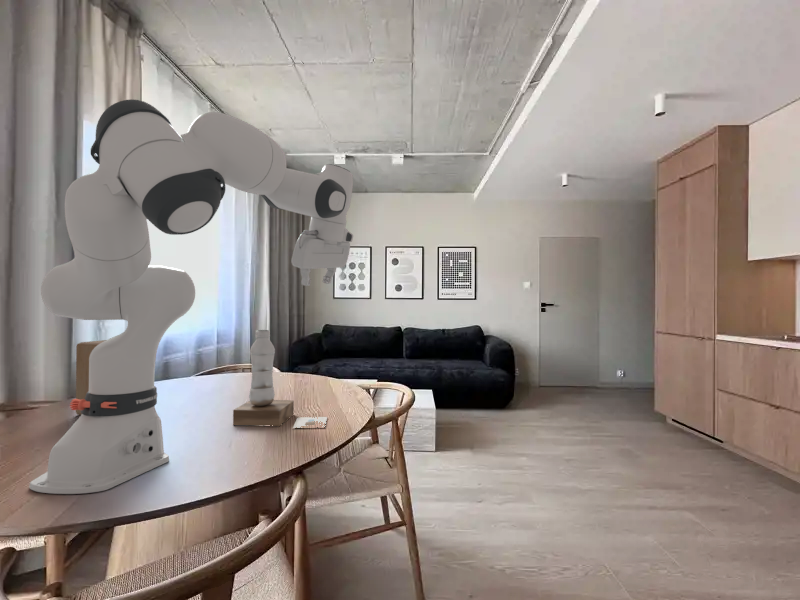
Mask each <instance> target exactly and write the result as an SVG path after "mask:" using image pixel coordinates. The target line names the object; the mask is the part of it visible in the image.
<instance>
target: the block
mask: <svg viewBox="0 0 800 600" xmlns="http://www.w3.org/2000/svg"><path fill="white" fill-rule="evenodd" d="M106 340H107V339H104V340H93V341H92V340H91V341H82V342H79V343H77V344H76V347H75V348H76V350H75V351H76V354H75V356H76V359H75V361H76V362H75V365H76V366H75V399H79V400H82V399H85V396H86V393H87V392H88V391H89V357H90V354H91V352H92V350H93V349H94V348H95V347H96V346H97V345H99V344H100V343H102V342H104V341H106ZM75 414H77V416H81V415H82V413H81V410H75Z"/></svg>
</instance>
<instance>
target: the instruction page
mask: <svg viewBox="0 0 800 600" xmlns="http://www.w3.org/2000/svg"><path fill="white" fill-rule="evenodd" d="M312 417H313V418H312ZM312 417H311V416H305V417H299V416H298V417H296V420H295V422H294V424H293V427H292V429H293V428H296V427H297V428H300V427H301V426H306V425H307V426H308V425H315V422H316V421H318V423H319V422H320V421H321V422H323V424H324V423H325V424H326V425H327V422H326V421H327V420H328V417H327V416H312ZM314 417H315V418H314ZM317 417H318V419H317ZM312 421H313V422H312ZM314 421H315V422H314ZM321 422H320V423H321ZM320 425H321V424H320ZM326 425H325V426H326ZM323 426H324V425H323ZM323 426H322V427H323ZM325 426H324V427H325ZM301 428H302V427H301ZM325 428H326V427H325Z"/></svg>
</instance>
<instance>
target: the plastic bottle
mask: <svg viewBox="0 0 800 600" xmlns="http://www.w3.org/2000/svg"><path fill="white" fill-rule="evenodd" d="M270 333H271V331H270V330H269V329H255V336H254V337H255V341H254V342H253V343H252V345H251V346H250V350H249V354H250V362H251V383H250V389H249V394H248V398H249V401H250V403H251V404H252V405H255V406H265V405H269V404H271V403H272V402H273V400H275V389H274V381H273V380H274V379H273V373H274V372H273V367H274V361H275V353H276V349H275V346H274V344H273V343H272V341H271V340H270V337H271V334H270Z"/></svg>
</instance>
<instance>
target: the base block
mask: <svg viewBox="0 0 800 600" xmlns="http://www.w3.org/2000/svg"><path fill="white" fill-rule="evenodd" d="M294 406H295V401H294V400H290V399H287V400H285V399H284V400H283V399H274V400H273V402H272V403H271V404H269V405H265V406H255V405H252V404H251V403H250V400H249V401H246V402H245V403H243V404H242V405H239V406H238V407H236V408H235V409H232V411H233V412H232V413H233V414H232V426H233V425H270V426H272V425H273V426H280V425H281V424H282V423H283V422H285V421H286V420H287V419H288V418H289V417H290V418H292V417H293V416H294V415H293V414H294V412H295V411H294V410H295V409H294V408H295V407H294ZM292 415H293V416H292ZM291 416H292V417H291ZM290 418H289V419H290ZM289 419H288V420H289ZM288 420H287V421H288ZM287 421H286V422H287ZM286 422H285V423H286ZM283 424H284V423H283ZM283 424H282V425H283ZM282 425H281V426H282ZM281 426H280V427H281Z"/></svg>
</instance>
